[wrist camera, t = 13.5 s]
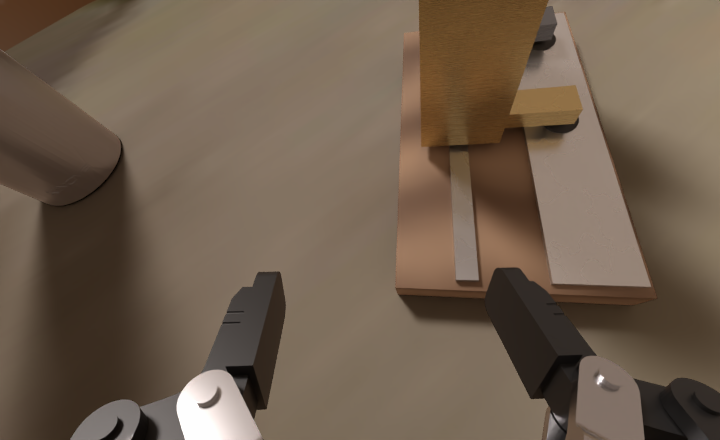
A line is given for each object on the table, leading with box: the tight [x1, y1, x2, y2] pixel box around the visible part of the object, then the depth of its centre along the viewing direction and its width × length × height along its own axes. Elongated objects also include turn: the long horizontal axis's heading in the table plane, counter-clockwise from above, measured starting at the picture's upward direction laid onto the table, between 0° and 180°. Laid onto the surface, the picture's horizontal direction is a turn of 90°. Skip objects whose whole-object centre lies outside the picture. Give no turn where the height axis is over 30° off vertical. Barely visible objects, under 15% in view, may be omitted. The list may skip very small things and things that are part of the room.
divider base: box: [395, 6, 657, 305], centre depth 15 cm, size 23×13×17 cm, turn 175°
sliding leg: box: [419, 0, 583, 147], centre depth 14 cm, size 4×10×15 cm, turn 85°
